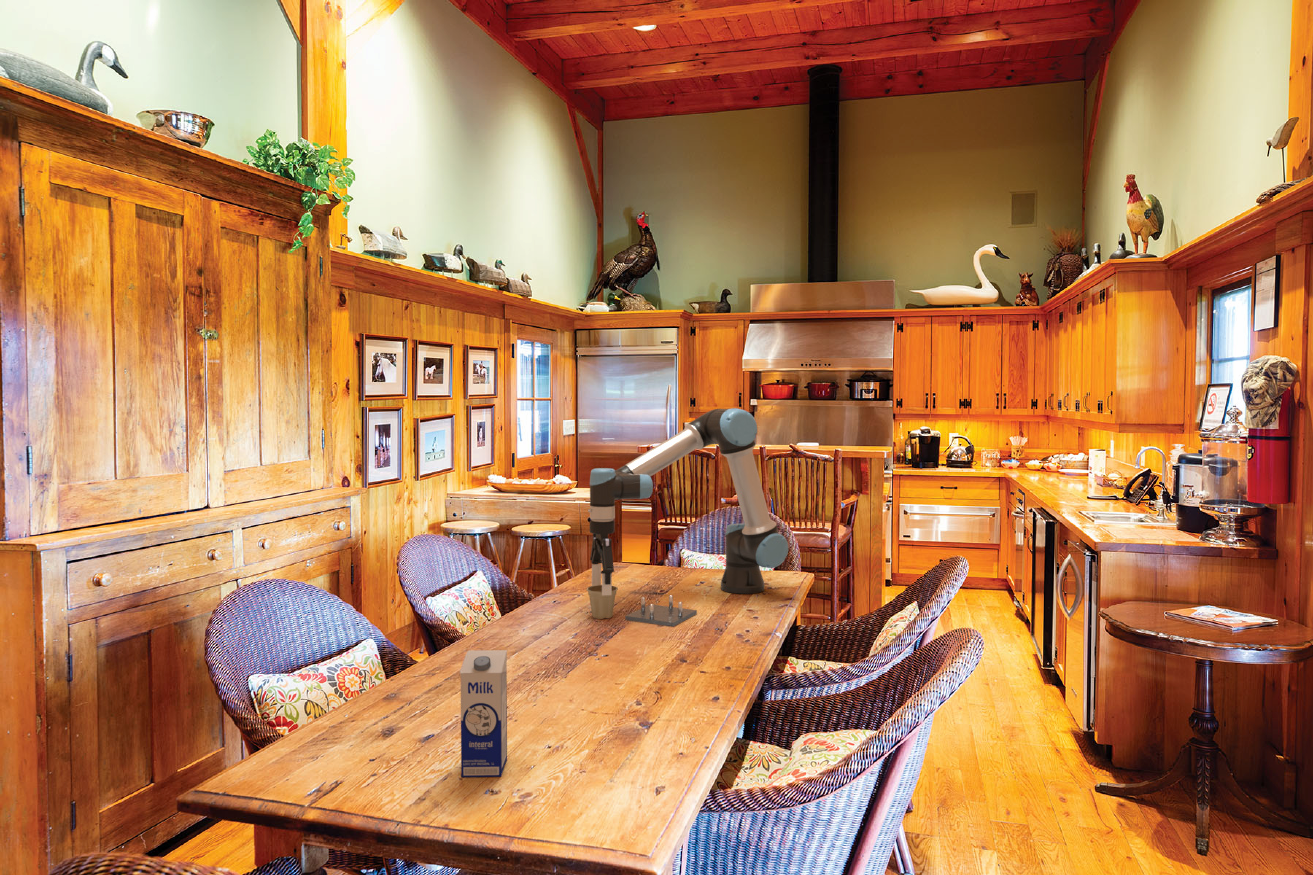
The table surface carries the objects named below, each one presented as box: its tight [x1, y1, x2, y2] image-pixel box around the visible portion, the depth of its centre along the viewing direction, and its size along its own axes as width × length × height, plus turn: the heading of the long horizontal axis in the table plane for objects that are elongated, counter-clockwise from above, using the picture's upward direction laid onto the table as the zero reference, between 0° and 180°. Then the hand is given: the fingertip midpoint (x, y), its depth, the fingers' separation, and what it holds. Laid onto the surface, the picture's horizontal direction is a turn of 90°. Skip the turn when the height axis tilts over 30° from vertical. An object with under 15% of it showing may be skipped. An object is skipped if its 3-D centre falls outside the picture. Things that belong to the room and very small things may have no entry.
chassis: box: [624, 594, 698, 628], centre depth 239 cm, size 16×16×5 cm
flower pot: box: [586, 584, 619, 620], centre depth 239 cm, size 9×9×9 cm
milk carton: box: [459, 649, 508, 778], centre depth 138 cm, size 7×7×20 cm
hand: (601, 590), depth 239 cm, fingers open, 13 cm apart
